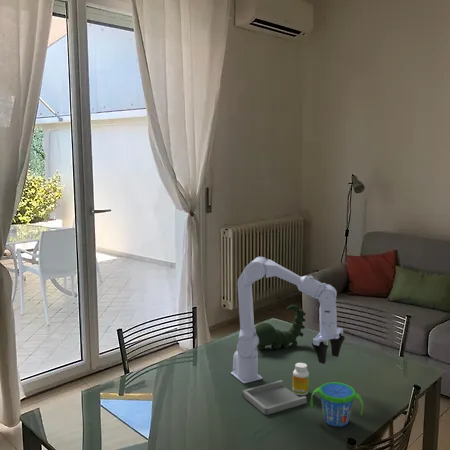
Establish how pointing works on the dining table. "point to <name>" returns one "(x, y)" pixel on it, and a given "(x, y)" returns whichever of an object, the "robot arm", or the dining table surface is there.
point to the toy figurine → (277, 337)
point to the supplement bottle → (300, 379)
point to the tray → (272, 397)
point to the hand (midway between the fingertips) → (328, 359)
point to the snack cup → (336, 402)
